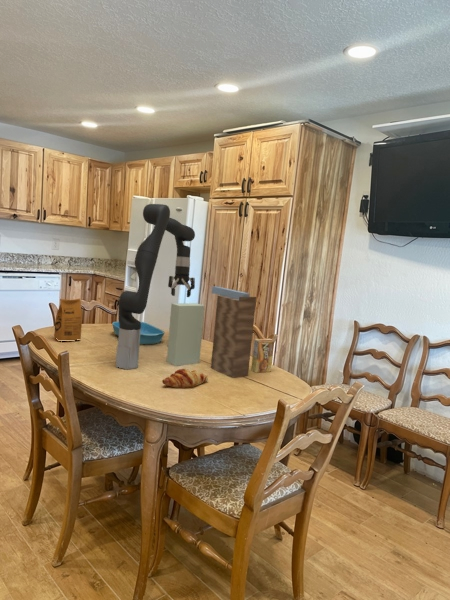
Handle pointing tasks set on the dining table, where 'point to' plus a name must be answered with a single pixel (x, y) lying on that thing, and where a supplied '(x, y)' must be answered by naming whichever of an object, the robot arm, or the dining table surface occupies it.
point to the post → (233, 335)
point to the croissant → (185, 379)
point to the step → (185, 333)
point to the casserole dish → (145, 333)
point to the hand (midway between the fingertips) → (180, 296)
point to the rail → (229, 292)
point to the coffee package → (68, 320)
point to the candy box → (262, 355)
